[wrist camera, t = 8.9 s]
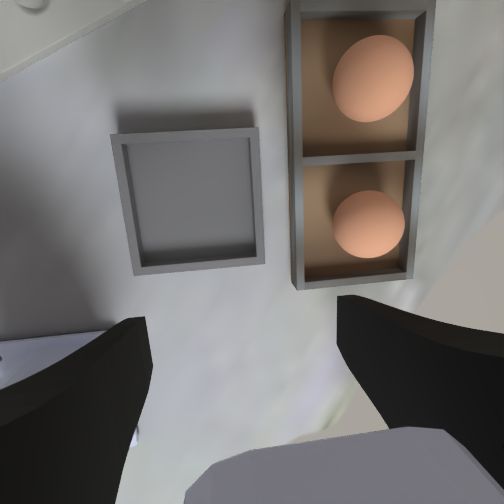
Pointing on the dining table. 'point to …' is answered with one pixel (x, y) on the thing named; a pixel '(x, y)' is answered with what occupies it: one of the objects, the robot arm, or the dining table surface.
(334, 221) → the terracotta ball
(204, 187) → the shallow grey square tray
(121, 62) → the dining table surface
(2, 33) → the test tube rack
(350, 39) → the pair tray
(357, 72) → the ball
